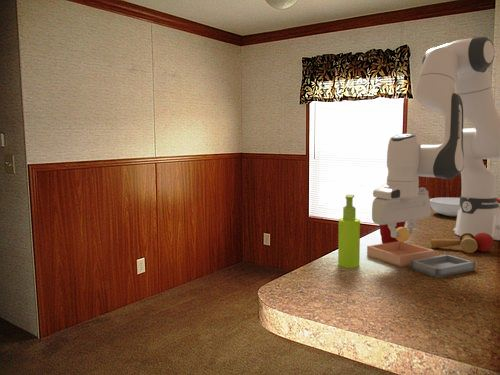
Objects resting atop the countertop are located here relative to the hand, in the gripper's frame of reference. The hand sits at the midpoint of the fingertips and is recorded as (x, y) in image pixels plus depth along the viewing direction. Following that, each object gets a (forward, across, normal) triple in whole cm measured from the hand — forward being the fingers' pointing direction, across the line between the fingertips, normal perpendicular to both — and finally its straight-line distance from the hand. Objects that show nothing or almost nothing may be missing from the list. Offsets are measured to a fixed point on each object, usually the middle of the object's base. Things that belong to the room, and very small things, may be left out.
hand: (402, 235), depth 128 cm
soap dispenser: (+7, +18, -3) cm, 19 cm away
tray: (+7, -1, +14) cm, 15 cm away
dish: (+7, +1, 0) cm, 7 cm away
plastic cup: (+7, -9, -14) cm, 18 cm away
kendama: (+8, -24, +2) cm, 25 cm away
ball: (0, 0, 0) cm, 0 cm away
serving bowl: (+9, -75, -42) cm, 87 cm away
